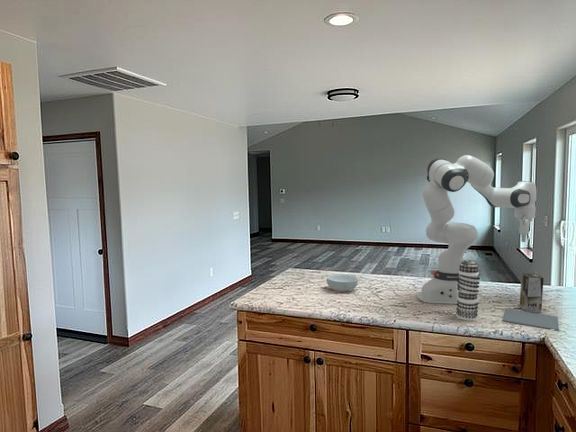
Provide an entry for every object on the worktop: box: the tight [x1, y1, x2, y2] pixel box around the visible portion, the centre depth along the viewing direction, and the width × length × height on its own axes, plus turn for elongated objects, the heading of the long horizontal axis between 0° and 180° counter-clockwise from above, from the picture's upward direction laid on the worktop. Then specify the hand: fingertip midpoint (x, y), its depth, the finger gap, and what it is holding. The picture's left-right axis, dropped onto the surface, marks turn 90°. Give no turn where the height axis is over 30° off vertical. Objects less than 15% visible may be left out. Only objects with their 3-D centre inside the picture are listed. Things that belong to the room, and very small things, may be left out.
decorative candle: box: [455, 259, 481, 321], centre depth 172 cm, size 9×9×25 cm
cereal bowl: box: [326, 273, 359, 293], centre depth 216 cm, size 17×17×7 cm
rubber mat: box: [501, 308, 560, 331], centre depth 170 cm, size 18×20×1 cm
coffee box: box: [519, 273, 544, 314], centre depth 183 cm, size 9×6×16 cm
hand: (523, 241), depth 197 cm, fingers closed
